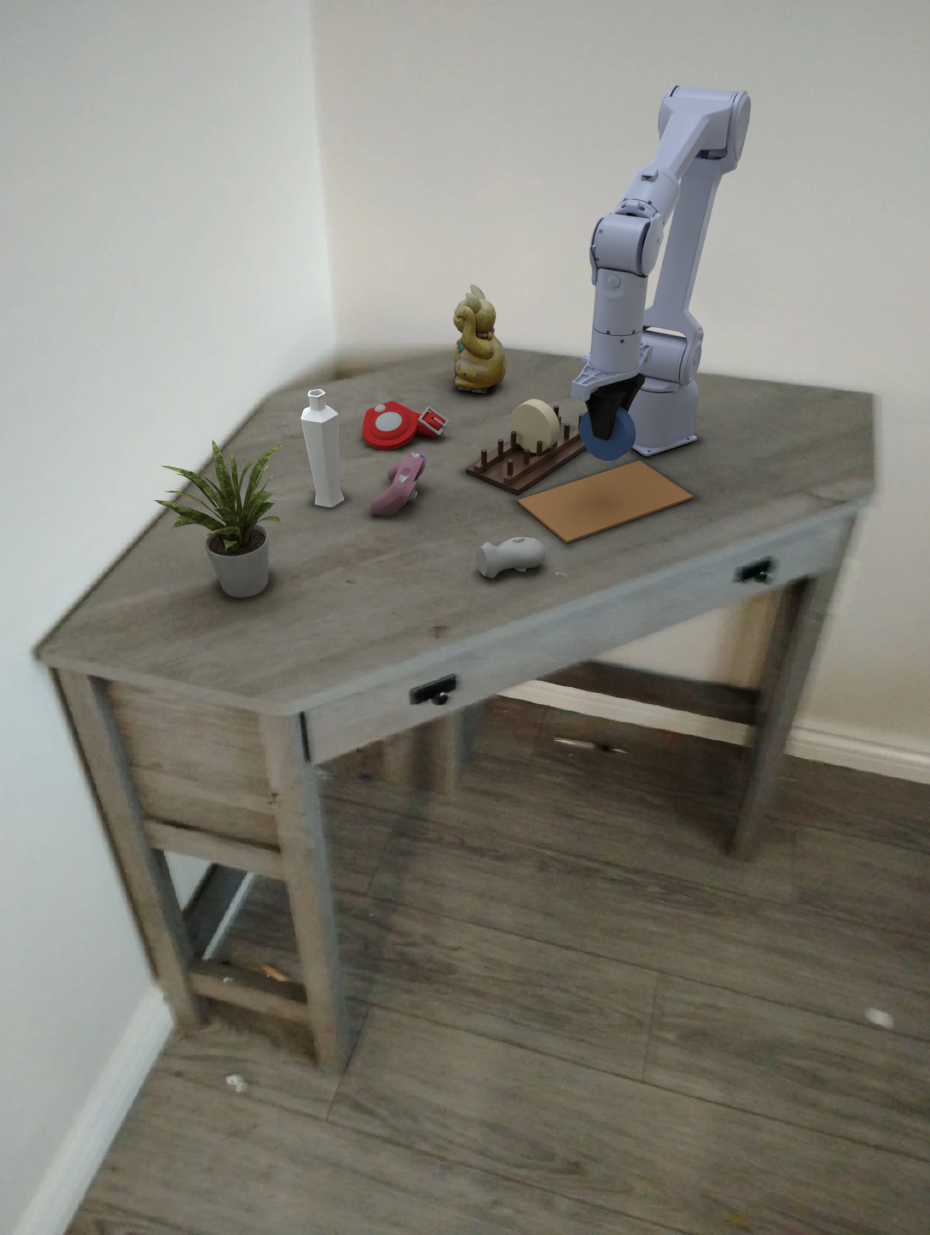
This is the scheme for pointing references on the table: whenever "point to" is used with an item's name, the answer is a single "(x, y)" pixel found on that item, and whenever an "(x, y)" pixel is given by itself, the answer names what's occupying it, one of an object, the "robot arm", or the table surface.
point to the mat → (603, 501)
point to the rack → (526, 459)
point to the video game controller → (400, 484)
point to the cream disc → (535, 425)
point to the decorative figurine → (477, 344)
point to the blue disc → (618, 441)
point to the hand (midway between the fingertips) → (607, 433)
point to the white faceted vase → (323, 448)
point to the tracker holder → (399, 425)
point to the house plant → (232, 524)
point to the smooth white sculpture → (510, 555)
